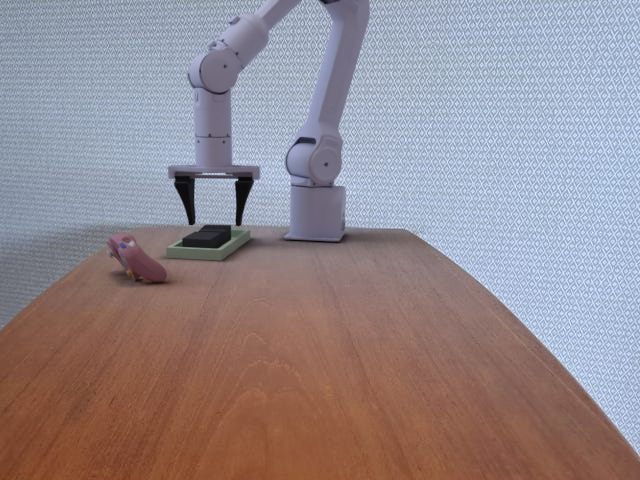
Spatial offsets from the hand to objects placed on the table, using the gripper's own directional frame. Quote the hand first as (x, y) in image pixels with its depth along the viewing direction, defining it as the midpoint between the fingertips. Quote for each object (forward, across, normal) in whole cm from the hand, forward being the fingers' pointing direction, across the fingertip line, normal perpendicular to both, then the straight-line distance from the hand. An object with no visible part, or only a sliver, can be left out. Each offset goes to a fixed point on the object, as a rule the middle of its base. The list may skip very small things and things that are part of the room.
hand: (215, 224), depth 110 cm
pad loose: (+3, 0, 0) cm, 3 cm away
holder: (+3, 0, +2) cm, 4 cm away
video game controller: (+3, +7, +23) cm, 24 cm away
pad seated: (+3, +1, +7) cm, 8 cm away
